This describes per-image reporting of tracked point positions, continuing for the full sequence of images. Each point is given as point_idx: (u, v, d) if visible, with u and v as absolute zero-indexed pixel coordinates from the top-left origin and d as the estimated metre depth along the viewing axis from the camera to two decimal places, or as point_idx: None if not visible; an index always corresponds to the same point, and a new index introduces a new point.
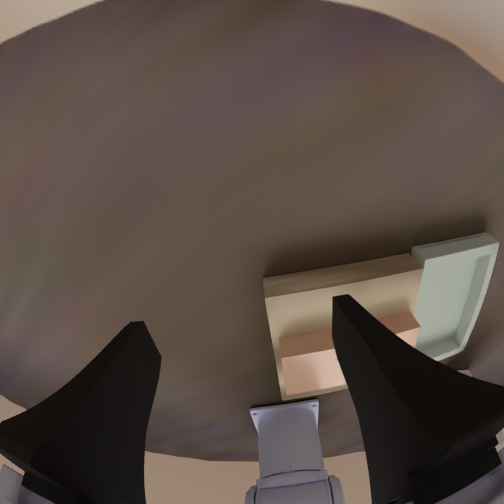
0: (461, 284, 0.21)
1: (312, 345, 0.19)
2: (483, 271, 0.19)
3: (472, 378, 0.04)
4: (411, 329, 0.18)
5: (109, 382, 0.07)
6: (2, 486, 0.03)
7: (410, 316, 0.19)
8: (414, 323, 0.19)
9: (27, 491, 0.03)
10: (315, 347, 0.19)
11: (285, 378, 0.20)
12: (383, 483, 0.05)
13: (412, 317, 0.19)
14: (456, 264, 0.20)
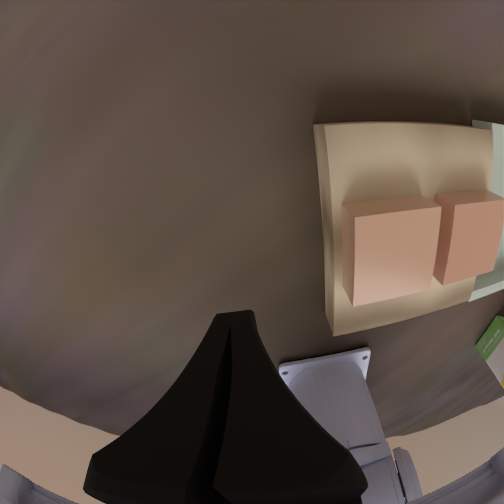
0: None
1: (392, 206, 0.12)
2: None
3: (318, 429, 0.04)
4: (499, 200, 0.11)
5: (221, 381, 0.07)
6: (2, 487, 0.03)
7: (490, 192, 0.12)
8: (498, 197, 0.12)
9: (27, 491, 0.03)
10: (399, 208, 0.12)
11: (356, 266, 0.13)
12: None
13: (492, 193, 0.12)
14: None
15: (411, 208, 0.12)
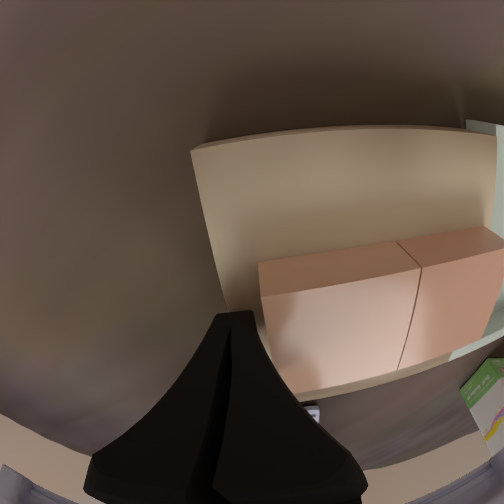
0: None
1: (336, 270, 0.08)
2: None
3: (317, 429, 0.04)
4: (500, 249, 0.07)
5: (221, 381, 0.07)
6: (1, 486, 0.03)
7: (488, 232, 0.09)
8: (500, 241, 0.08)
9: (27, 491, 0.03)
10: (345, 274, 0.08)
11: (274, 357, 0.09)
12: None
13: (492, 233, 0.08)
14: None
15: (366, 275, 0.08)
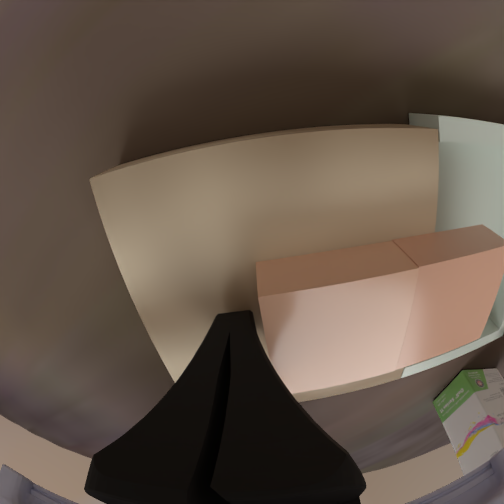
0: (502, 212, 0.11)
1: (333, 270, 0.08)
2: None
3: (316, 430, 0.04)
4: (499, 247, 0.07)
5: (222, 381, 0.07)
6: (2, 487, 0.03)
7: (486, 230, 0.08)
8: (498, 239, 0.08)
9: (27, 491, 0.03)
10: (343, 274, 0.08)
11: (272, 356, 0.09)
12: None
13: (490, 231, 0.08)
14: (491, 168, 0.10)
15: (364, 275, 0.08)
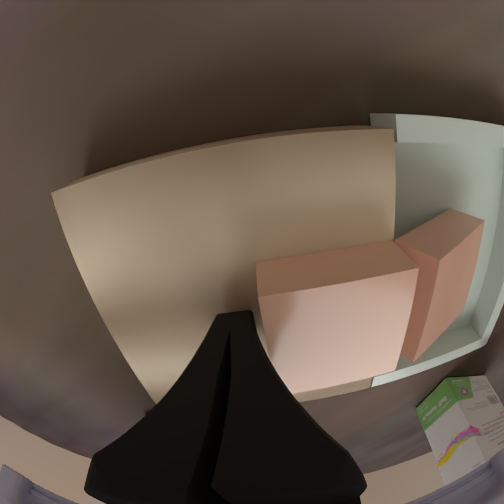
0: (482, 216, 0.11)
1: (333, 270, 0.08)
2: None
3: (316, 430, 0.04)
4: (478, 226, 0.09)
5: (221, 381, 0.07)
6: (2, 486, 0.03)
7: (458, 213, 0.10)
8: (473, 218, 0.09)
9: (27, 491, 0.03)
10: (343, 274, 0.08)
11: (272, 356, 0.09)
12: None
13: (462, 213, 0.10)
14: (468, 169, 0.10)
15: (364, 274, 0.08)
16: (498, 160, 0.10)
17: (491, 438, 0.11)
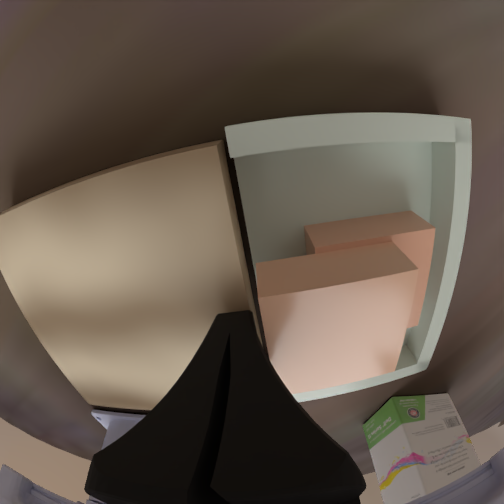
0: None
1: (333, 271, 0.08)
2: (447, 191, 0.09)
3: (316, 430, 0.04)
4: (418, 231, 0.09)
5: (222, 381, 0.07)
6: (2, 487, 0.03)
7: (412, 215, 0.10)
8: (422, 223, 0.10)
9: (27, 491, 0.03)
10: (343, 275, 0.08)
11: (272, 357, 0.09)
12: None
13: (416, 216, 0.10)
14: (372, 172, 0.10)
15: (364, 276, 0.08)
16: (423, 158, 0.10)
17: (439, 468, 0.12)
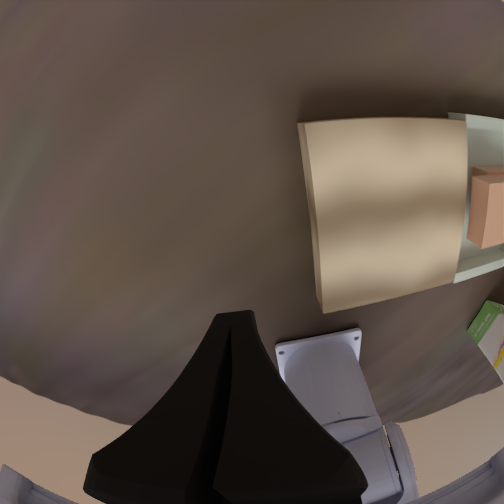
0: None
1: (500, 179, 0.14)
2: None
3: (318, 429, 0.04)
4: None
5: (221, 381, 0.07)
6: (1, 486, 0.03)
7: None
8: None
9: (27, 491, 0.03)
10: None
11: (487, 218, 0.14)
12: None
13: None
14: (493, 144, 0.15)
15: None
16: None
17: None
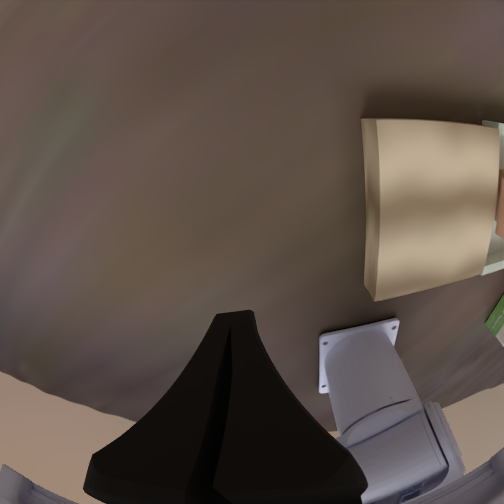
0: None
1: None
2: None
3: (318, 429, 0.04)
4: None
5: (220, 381, 0.07)
6: (2, 486, 0.03)
7: None
8: None
9: (27, 491, 0.03)
10: None
11: None
12: None
13: None
14: None
15: None
16: None
17: None
